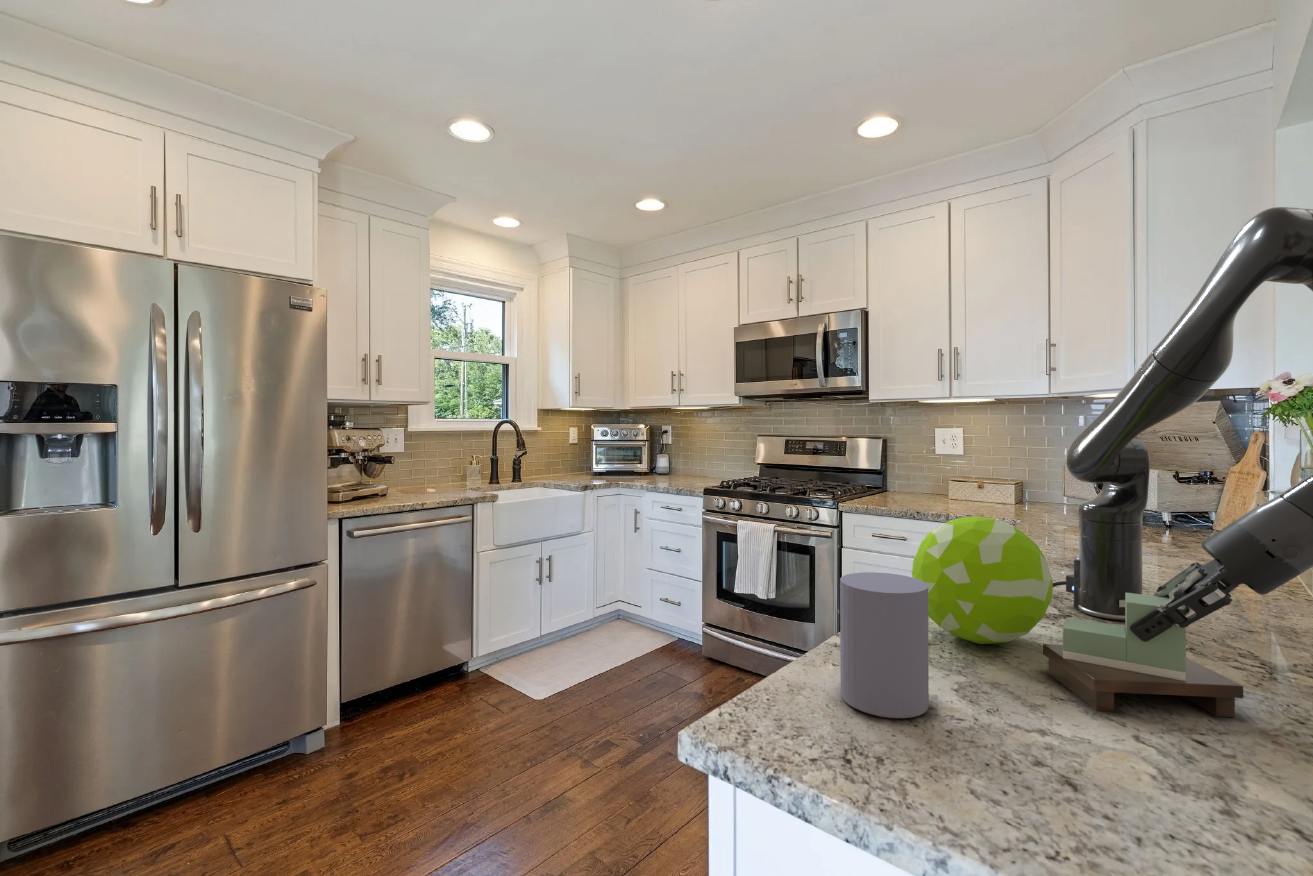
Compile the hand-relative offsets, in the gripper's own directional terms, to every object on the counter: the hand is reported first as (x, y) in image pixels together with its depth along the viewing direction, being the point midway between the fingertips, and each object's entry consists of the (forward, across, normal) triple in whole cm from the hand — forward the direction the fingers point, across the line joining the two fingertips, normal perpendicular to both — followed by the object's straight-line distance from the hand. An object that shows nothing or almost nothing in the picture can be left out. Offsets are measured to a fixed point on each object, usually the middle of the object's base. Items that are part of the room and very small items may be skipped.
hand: (1135, 628), depth 75 cm
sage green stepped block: (+4, 0, +2) cm, 5 cm away
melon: (+20, -12, -7) cm, 24 cm away
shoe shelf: (+6, -1, +6) cm, 9 cm away
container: (+24, +20, -12) cm, 34 cm away
